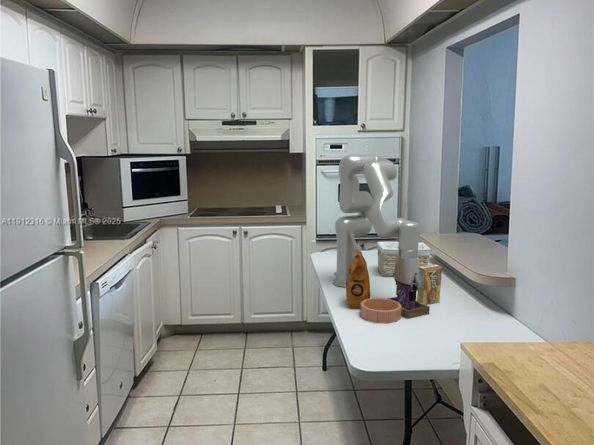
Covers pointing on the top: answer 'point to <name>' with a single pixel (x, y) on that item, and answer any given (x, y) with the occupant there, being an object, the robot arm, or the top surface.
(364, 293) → the coffee package
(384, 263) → the storage basket
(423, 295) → the candy box
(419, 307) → the tray frame
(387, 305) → the bowl
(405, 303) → the beverage can
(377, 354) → the top surface
